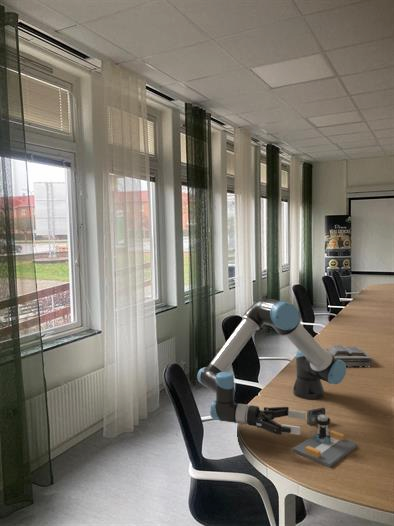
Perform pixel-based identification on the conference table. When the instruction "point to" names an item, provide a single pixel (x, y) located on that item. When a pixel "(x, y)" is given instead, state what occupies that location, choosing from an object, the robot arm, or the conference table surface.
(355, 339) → the conference table surface
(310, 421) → the mini dv tape
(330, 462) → the mounting panel
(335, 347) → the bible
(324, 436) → the push button
